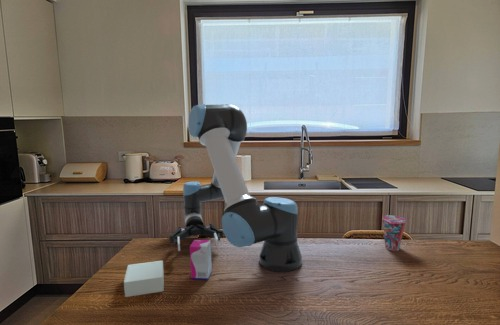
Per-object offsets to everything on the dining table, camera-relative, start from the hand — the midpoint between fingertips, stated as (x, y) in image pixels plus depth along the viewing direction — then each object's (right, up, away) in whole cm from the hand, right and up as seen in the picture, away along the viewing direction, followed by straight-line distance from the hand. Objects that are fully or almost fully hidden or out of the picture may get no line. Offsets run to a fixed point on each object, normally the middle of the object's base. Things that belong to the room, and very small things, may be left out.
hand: (198, 245), depth 114 cm
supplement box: (+2, -8, -8) cm, 12 cm away
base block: (-15, -9, -13) cm, 22 cm away
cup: (+74, -4, +10) cm, 75 cm away
